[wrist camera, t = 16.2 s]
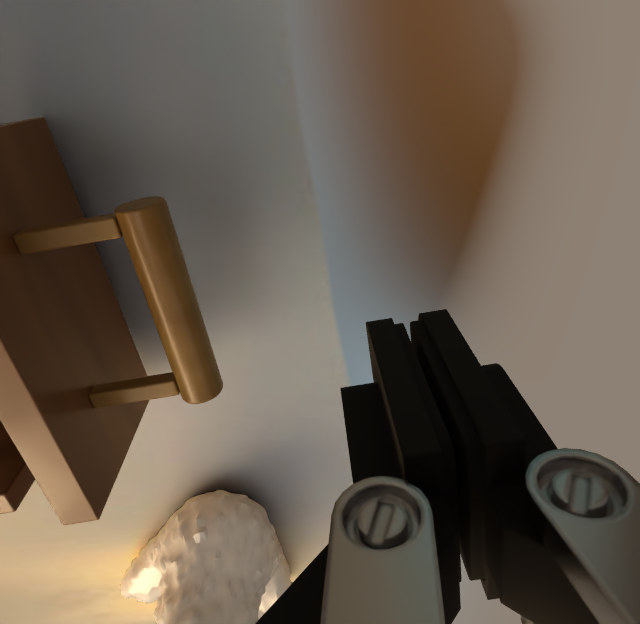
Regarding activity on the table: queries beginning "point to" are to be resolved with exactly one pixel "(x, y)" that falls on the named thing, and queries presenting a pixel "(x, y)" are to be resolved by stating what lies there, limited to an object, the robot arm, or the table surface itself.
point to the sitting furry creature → (211, 563)
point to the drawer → (81, 331)
